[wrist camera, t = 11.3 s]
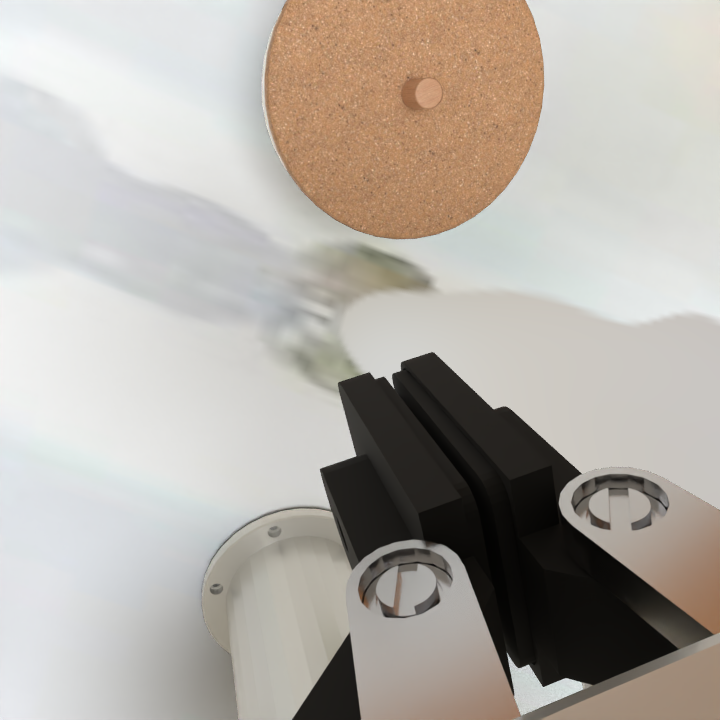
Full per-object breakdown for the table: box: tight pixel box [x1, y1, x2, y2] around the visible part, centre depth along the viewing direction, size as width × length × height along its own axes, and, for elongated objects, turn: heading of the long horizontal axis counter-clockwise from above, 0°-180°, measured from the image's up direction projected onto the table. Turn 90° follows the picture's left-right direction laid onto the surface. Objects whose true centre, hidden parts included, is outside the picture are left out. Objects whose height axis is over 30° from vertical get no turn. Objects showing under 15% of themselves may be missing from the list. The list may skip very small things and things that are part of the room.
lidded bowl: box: [261, 0, 544, 239], centre depth 32 cm, size 13×13×11 cm
